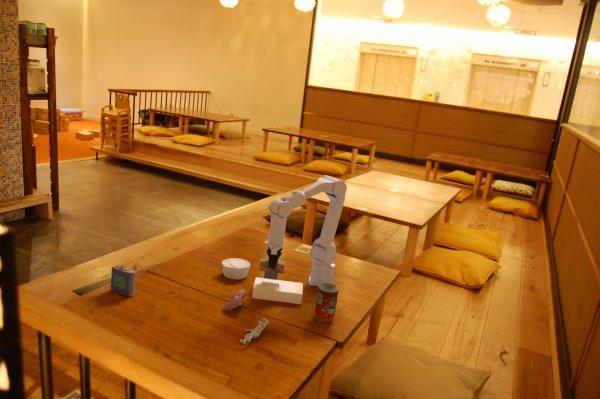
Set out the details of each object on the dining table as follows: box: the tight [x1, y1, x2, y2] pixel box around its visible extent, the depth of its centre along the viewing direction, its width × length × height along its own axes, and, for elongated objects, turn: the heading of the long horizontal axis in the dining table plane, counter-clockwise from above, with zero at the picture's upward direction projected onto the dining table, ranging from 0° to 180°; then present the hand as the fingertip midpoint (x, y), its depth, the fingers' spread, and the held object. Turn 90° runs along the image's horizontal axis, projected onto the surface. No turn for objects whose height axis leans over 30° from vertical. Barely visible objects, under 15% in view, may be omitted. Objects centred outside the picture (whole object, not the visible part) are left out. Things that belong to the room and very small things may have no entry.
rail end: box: [258, 258, 286, 280], centre depth 177 cm, size 9×3×6 cm, turn 89°
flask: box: [109, 263, 136, 298], centre depth 161 cm, size 9×3×11 cm, turn 68°
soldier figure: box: [239, 317, 270, 345], centre depth 146 cm, size 8×5×12 cm
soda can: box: [314, 283, 340, 324], centre depth 163 cm, size 7×7×12 cm
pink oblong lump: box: [222, 289, 248, 311], centre depth 164 cm, size 10×5×7 cm, turn 169°
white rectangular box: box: [251, 277, 304, 305], centre depth 177 cm, size 18×10×4 cm, turn 89°
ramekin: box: [221, 257, 251, 281], centre depth 190 cm, size 11×11×5 cm
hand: (272, 266), depth 177 cm, fingers closed on rail end, 3 cm apart
